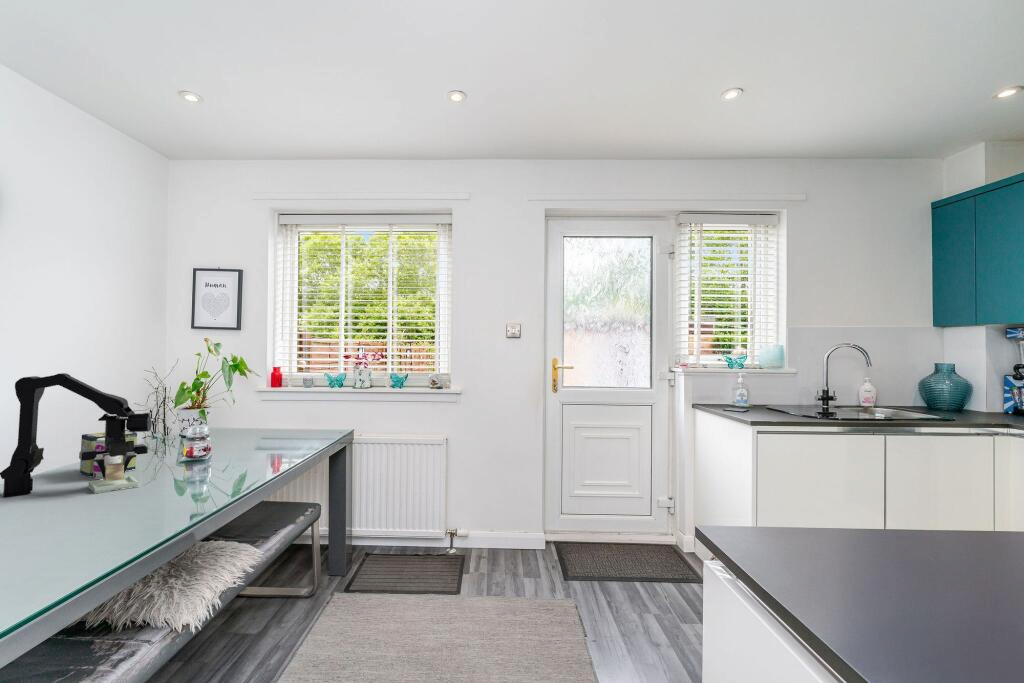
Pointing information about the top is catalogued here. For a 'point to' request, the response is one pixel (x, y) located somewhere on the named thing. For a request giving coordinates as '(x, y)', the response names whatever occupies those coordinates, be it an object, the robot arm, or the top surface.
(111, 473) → the maple cube
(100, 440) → the supplement can
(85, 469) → the protein box
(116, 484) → the tray
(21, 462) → the robot arm
